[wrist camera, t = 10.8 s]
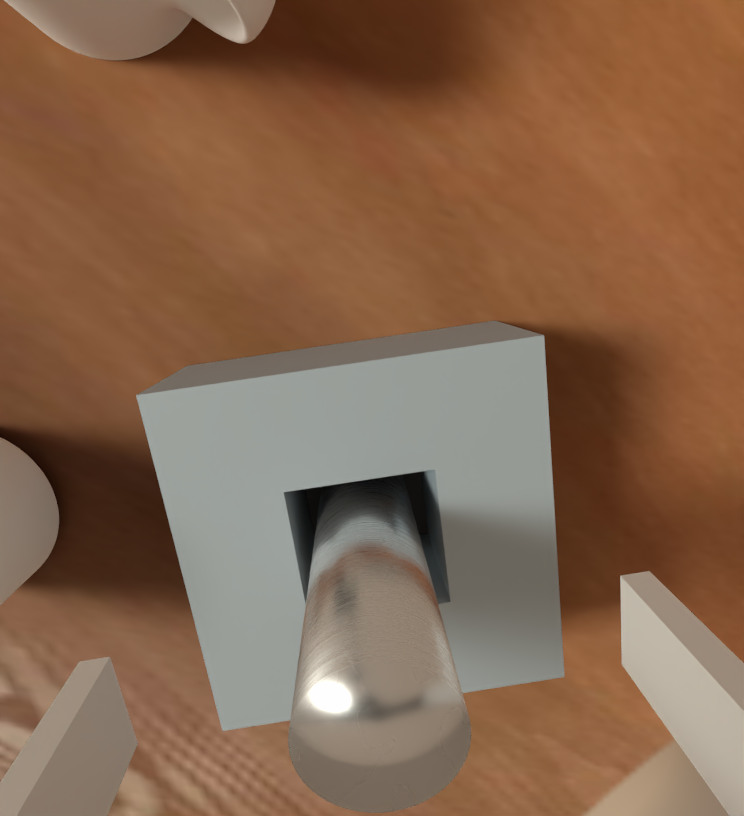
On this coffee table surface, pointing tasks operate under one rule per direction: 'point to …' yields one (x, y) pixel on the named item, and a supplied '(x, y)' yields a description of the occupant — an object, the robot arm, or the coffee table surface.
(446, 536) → the socket block
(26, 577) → the beverage can
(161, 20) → the mug
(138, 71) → the coffee table surface
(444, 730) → the peg
